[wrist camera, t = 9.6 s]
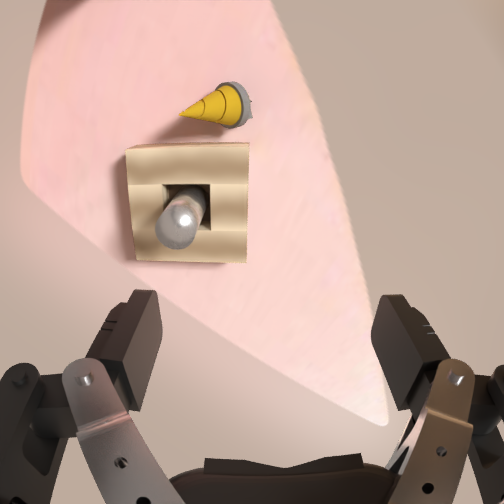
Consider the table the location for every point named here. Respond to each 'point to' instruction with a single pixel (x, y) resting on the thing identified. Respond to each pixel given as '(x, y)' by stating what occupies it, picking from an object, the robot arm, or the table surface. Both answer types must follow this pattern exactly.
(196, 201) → the pin
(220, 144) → the socket block
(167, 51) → the table surface
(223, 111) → the drill bit
